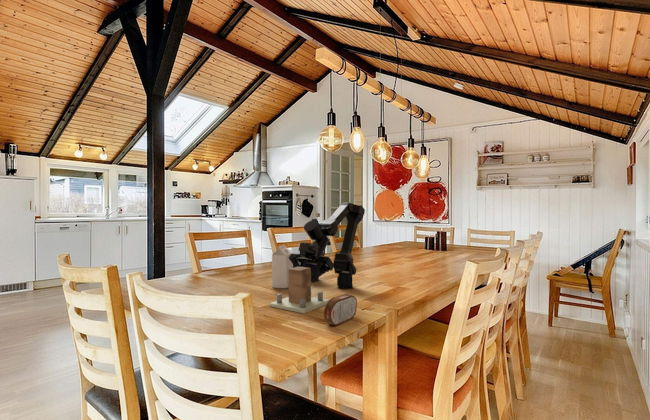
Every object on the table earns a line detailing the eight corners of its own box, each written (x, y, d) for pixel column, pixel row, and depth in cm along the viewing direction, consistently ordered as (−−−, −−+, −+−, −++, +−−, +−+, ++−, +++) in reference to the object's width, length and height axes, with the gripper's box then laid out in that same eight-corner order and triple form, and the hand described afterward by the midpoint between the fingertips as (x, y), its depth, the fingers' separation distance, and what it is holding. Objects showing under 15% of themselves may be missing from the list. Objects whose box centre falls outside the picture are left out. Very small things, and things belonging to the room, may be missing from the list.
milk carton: (272, 287, 163) (271, 246, 163) (278, 284, 170) (278, 244, 170) (286, 288, 161) (286, 246, 161) (292, 285, 168) (292, 244, 168)
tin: (351, 315, 123) (351, 290, 123) (358, 317, 121) (358, 292, 121) (323, 327, 111) (322, 300, 111) (331, 329, 109) (330, 301, 109)
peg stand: (296, 296, 147) (296, 286, 147) (329, 302, 138) (329, 291, 138) (269, 306, 134) (269, 295, 134) (304, 313, 125) (304, 301, 125)
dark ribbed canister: (316, 282, 173) (316, 251, 173) (297, 282, 175) (296, 251, 175) (321, 278, 183) (321, 249, 182) (302, 277, 185) (302, 248, 184)
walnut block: (298, 298, 140) (298, 266, 140) (311, 300, 137) (310, 267, 136) (288, 302, 135) (288, 268, 135) (301, 304, 132) (301, 270, 131)
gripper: (291, 233, 146) (273, 264, 137) (329, 235, 135) (312, 269, 127) (303, 250, 153) (286, 281, 144) (340, 253, 142) (325, 287, 133)
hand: (301, 279), depth 137 cm, fingers open, 9 cm apart
